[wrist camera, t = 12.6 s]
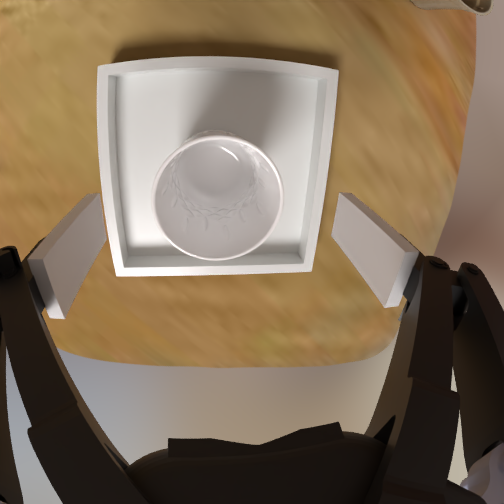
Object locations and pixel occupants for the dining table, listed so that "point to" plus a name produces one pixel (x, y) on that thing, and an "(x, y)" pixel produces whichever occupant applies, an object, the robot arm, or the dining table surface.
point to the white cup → (217, 196)
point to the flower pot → (457, 5)
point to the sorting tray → (203, 119)
